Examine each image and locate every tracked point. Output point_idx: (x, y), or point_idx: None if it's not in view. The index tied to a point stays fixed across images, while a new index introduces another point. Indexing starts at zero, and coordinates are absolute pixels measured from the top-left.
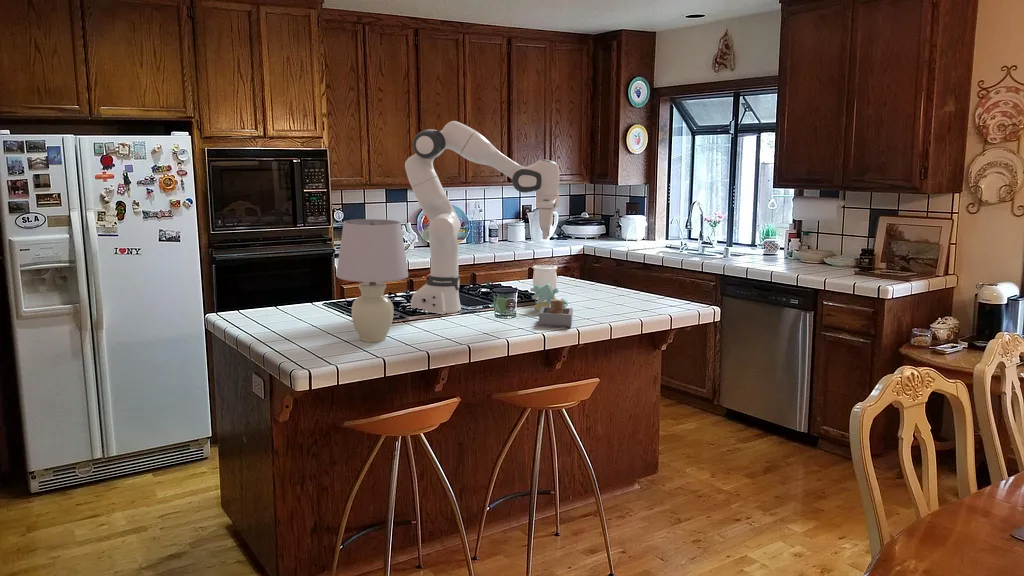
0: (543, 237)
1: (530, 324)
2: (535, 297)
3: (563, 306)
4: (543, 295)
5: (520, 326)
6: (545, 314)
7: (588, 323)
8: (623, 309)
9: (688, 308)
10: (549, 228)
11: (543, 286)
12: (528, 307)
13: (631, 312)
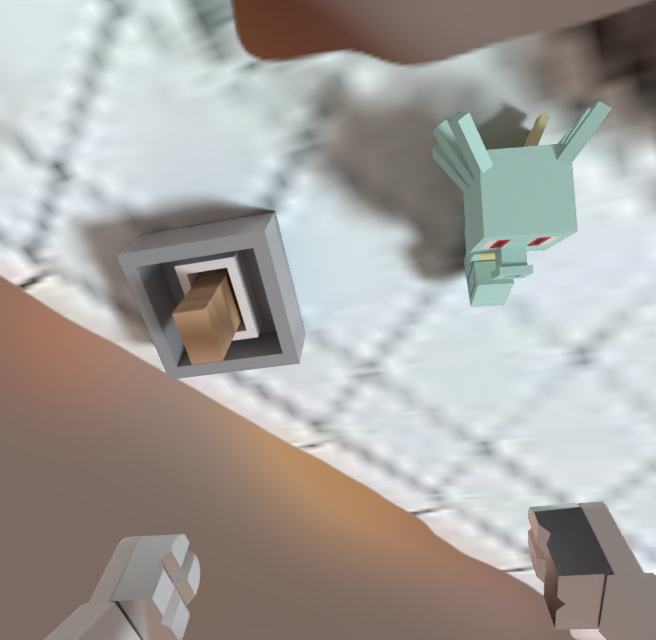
0: (118, 565)
1: (154, 191)
2: (441, 146)
3: (468, 279)
4: (468, 193)
5: (91, 158)
6: (129, 280)
7: (293, 388)
8: (588, 459)
9: None
10: None
11: (482, 206)
12: (537, 61)
13: (537, 484)
